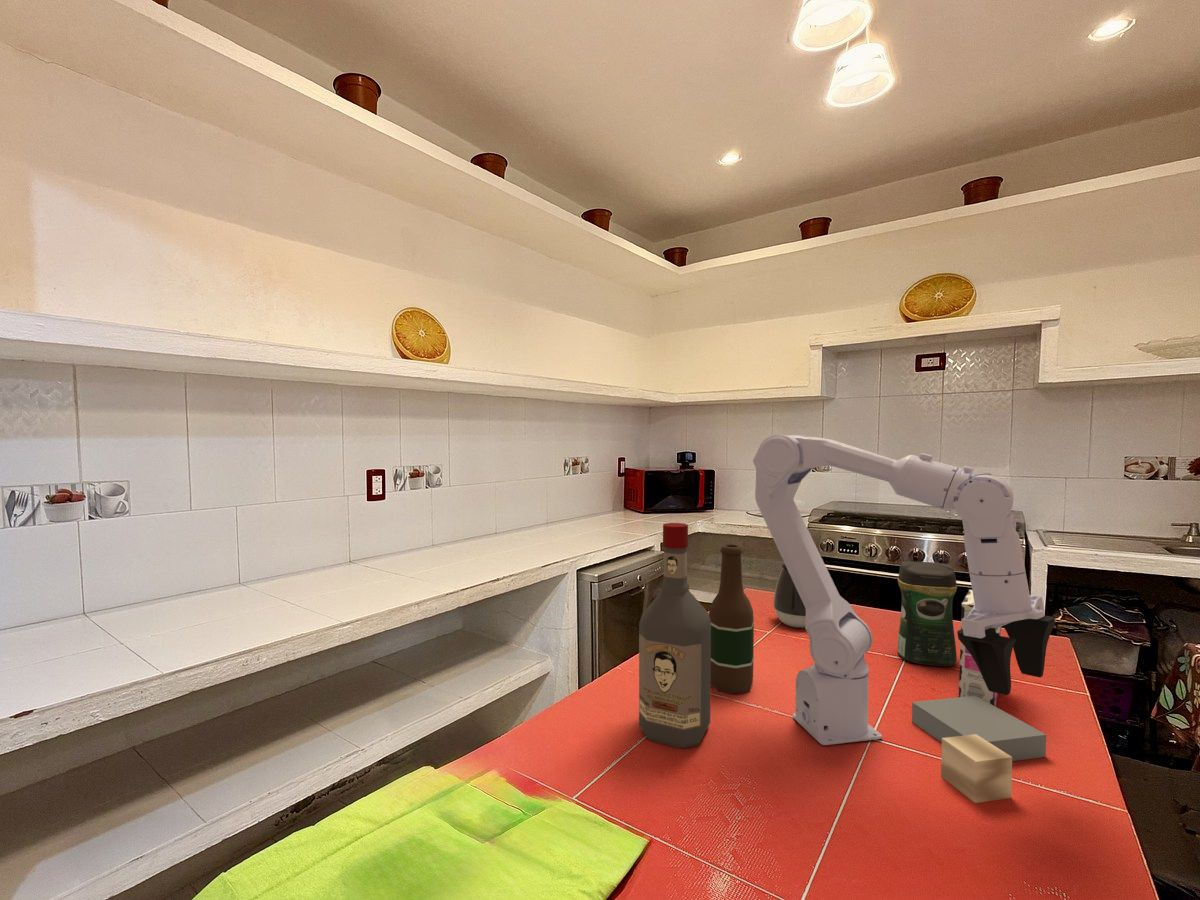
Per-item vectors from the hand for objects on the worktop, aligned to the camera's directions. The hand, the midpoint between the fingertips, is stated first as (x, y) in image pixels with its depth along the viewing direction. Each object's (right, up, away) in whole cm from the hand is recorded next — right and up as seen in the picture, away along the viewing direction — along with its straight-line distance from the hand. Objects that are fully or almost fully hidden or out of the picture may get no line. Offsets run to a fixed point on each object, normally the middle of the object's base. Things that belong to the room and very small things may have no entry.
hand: (1016, 683), depth 67 cm
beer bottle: (-28, -12, +27) cm, 41 cm away
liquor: (-40, -12, +13) cm, 44 cm away
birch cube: (-5, -13, 0) cm, 14 cm away
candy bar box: (+11, -12, +22) cm, 28 cm away
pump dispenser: (-6, -11, +57) cm, 58 cm away
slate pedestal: (+2, -12, +11) cm, 16 cm away
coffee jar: (+11, -12, +38) cm, 41 cm away
